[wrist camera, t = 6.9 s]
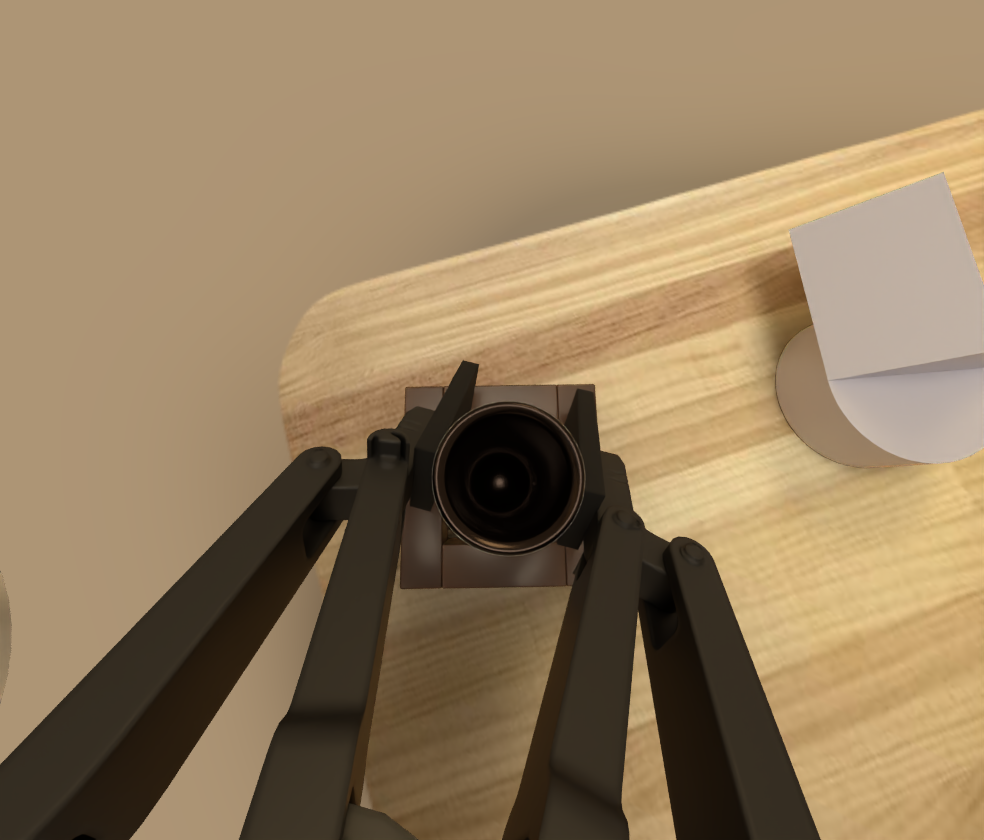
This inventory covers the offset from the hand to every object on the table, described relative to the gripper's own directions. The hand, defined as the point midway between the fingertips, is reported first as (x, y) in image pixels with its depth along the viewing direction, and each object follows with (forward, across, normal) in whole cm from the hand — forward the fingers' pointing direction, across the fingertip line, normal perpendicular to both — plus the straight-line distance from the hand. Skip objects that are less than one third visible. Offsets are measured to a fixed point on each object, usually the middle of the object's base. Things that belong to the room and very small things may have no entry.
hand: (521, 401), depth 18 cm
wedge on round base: (+9, +18, +3) cm, 21 cm away
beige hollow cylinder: (0, 0, -6) cm, 6 cm away
